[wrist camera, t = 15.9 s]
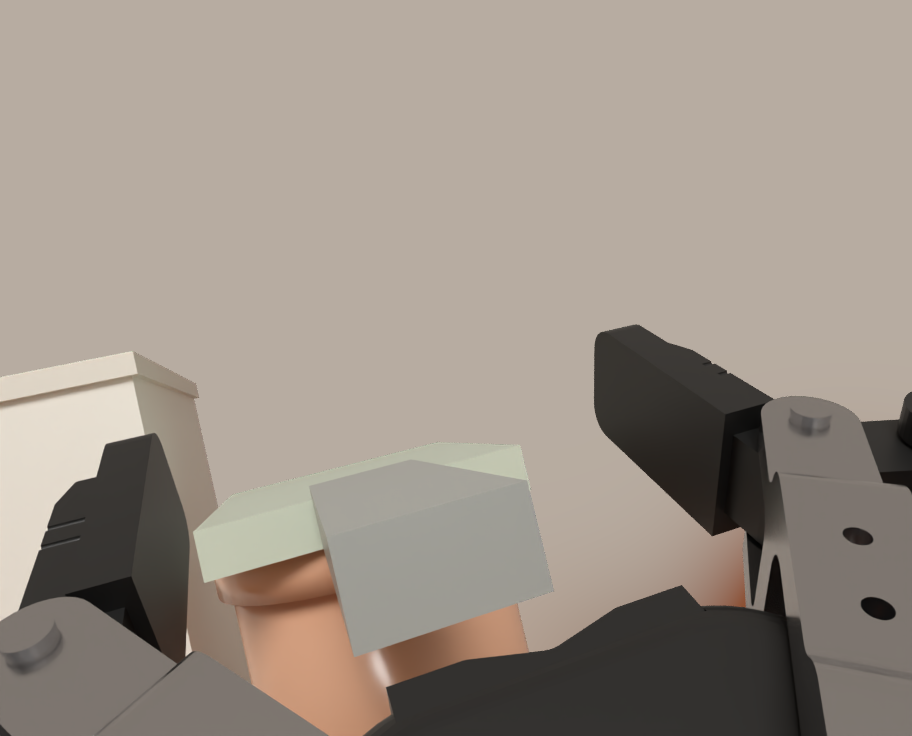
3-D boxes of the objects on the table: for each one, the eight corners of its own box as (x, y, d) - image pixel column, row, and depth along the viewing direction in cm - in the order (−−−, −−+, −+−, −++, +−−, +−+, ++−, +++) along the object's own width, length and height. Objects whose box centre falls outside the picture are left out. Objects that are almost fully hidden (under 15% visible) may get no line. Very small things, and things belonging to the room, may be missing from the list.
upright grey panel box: (-18, 1257, 25) (-184, 413, 26) (115, 911, 43) (12, 422, 44) (297, 1105, 28) (132, 351, 29) (297, 840, 46) (195, 383, 47)
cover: (110, 738, 10) (82, 605, 10) (238, 525, 34) (230, 487, 34) (729, 533, 13) (703, 430, 13) (443, 470, 37) (435, 435, 37)
